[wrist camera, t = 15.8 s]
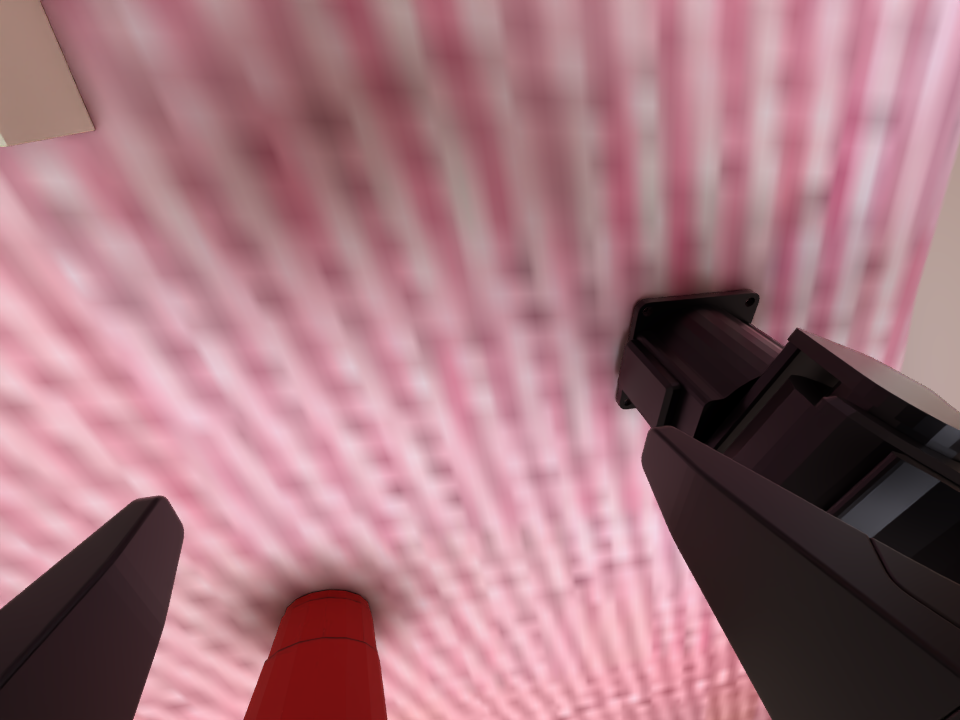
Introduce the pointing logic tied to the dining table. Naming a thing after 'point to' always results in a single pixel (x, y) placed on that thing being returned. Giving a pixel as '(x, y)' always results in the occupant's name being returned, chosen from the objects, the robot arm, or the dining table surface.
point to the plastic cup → (322, 663)
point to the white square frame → (35, 79)
